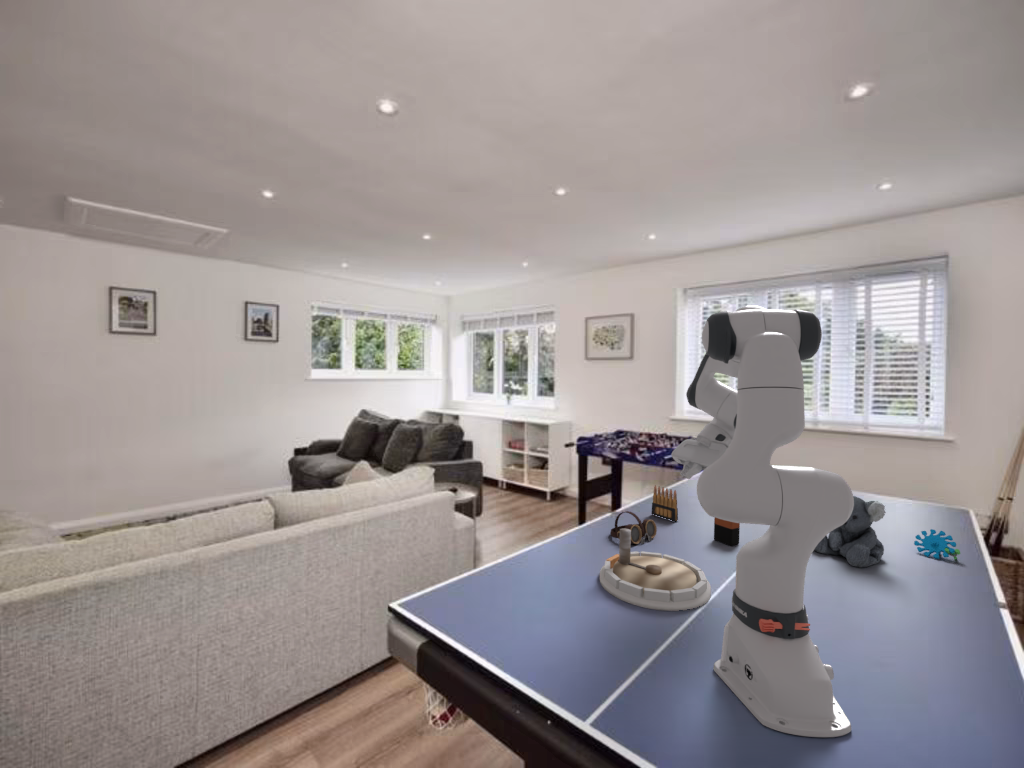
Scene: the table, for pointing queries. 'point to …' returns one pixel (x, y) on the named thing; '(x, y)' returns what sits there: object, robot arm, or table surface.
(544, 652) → the table surface
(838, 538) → the koala plush
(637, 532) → the goggles
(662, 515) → the ammunition clip
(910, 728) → the table surface
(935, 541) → the blue virus model
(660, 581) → the dial
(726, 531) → the battery
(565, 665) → the table surface
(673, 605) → the dial base
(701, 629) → the table surface
